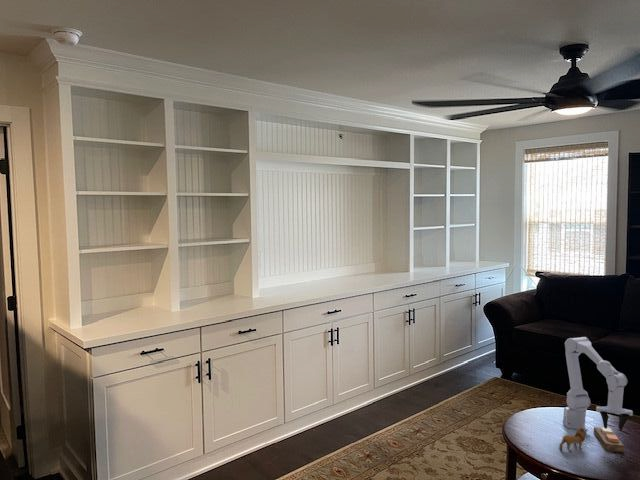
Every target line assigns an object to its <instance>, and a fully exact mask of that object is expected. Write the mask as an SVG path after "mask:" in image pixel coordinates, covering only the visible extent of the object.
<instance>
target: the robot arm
mask: <svg viewBox="0 0 640 480" xmlns="http://www.w3.org/2000/svg"><path fill="white" fill-rule="evenodd" d="M564 348H565V349H564V350H565V353H564V354H565V358H566V366H567V373H568V378H569V379H568V380H569V386H570V389H569V390H568V392H566V405H567V406H565V407H564V408H563V417H562V422H563V424H564V425H565V427H566V428H567V429H574V430H577V428H579V427H582V428H584V429H585V431H588V428H587V426H586V416H587V415H586V414H587V410H588V408H589V407H590V406H591V398H590V397H589V394H588V393H589V392H588V391H586V390H585V389H584V386H583V381H582V380H583V379H582V373H581V367H580V362H579V356H580V355H581V354H585V355H586V356H587V357H588V358H589V359H590V360H591V361H592V362H594V363H595V364H596V368H597V369H596V370H598V371H599V372H600V373H601V375H602V376H604V378H605V379H606V381H605V382H606V384H607V389H608V393H607V405H606V406H595V407H596V408H595V411H596V413H599V414H600V416H601V419H602V423H603V427H604V428H605V429H607V428H608V421H609V418H610V416H609V414H615V415H618V429H619V430H620V431H622V430H623V428H624V427H625V424H626V422H627V421H628V420H629V418H630V417H633V414H634V411H633V410H632V409H627V408H623V403H624V402H623V401H624V391H625V390H624V389H625V387H626V386H627V384H628V383H629V382H628V378H627V376H626V375H625V374H624V373H622V372H620V371H618V370H616V368H615V367H614V366H613V365H612V363H611V362H610V361H608V360H604V359H603V358H602V357H601V356H600V355H599V353H598V352H597V351H596V350H595V349H594V347H593V346H592V342H591V341H590V340H589V338H588V337H587V336H581V337H573V338H572V337H569V338H567V339H566V340H565V342H564ZM608 413H609V414H608Z"/></svg>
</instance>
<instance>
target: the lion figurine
mask: <svg viewBox="0 0 640 480" xmlns="http://www.w3.org/2000/svg"><path fill="white" fill-rule="evenodd" d="M586 436H587V430H585V429H584V428H582V427H579V428H577V429H576V431H575V434H574V435H573V434H572V435H570V434H569V435H568V434H565V435H563V437H562V440H561V443H560V444H559V446H558V447H559V451H560V452H562V451H563V445H564V444H566V445H567V446H566V449H567V450H568V452H570V453H572V452H573V450H572V449H570V447H571V445H573V448H577V444H578V450H580V451H582V450H583V449H582V446H583V442H585V440H586V438H587V437H586Z"/></svg>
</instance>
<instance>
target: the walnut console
mask: <svg viewBox="0 0 640 480" xmlns="http://www.w3.org/2000/svg"><path fill="white" fill-rule="evenodd" d="M600 428H601V427H597V426H594V427H593V434H594V436H595V437H596V439H597V440H598V441H599V443H600V444H601V446H602V447H603V449H604V451H614V452H621V453H623V452H624V448H625V445H624V444H623V442H622V441H621V440H620V439H619V437H618V436H617V435H616V433H615V432H614V431H613V429H612V428H610V429H611V430H612V431H613V435H616V437H617V438H618V443H616V442H608V441H607V440H606V438H605V437H606V435H605V434H602V433H601V431H600Z"/></svg>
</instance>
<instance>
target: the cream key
mask: <svg viewBox="0 0 640 480" xmlns="http://www.w3.org/2000/svg"><path fill="white" fill-rule="evenodd" d="M599 428H600V431H601V433H602V434H605V435H606V434H611V435H613V432H614V431H613V429H612V428H611V427H607V429H605V428H604V426H600V427H599ZM611 429H612V430H611Z"/></svg>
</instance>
